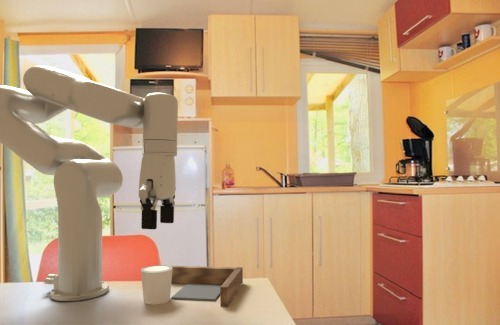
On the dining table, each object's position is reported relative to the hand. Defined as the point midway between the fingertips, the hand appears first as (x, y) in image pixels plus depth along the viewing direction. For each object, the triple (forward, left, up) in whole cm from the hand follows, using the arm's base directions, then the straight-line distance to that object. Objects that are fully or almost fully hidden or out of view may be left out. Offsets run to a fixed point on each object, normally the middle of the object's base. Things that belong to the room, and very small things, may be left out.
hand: (158, 225), depth 83 cm
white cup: (0, 0, -17) cm, 17 cm away
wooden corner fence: (+7, +6, -16) cm, 19 cm away
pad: (+8, +6, -16) cm, 19 cm away
